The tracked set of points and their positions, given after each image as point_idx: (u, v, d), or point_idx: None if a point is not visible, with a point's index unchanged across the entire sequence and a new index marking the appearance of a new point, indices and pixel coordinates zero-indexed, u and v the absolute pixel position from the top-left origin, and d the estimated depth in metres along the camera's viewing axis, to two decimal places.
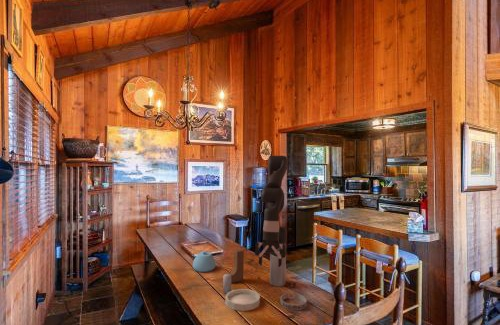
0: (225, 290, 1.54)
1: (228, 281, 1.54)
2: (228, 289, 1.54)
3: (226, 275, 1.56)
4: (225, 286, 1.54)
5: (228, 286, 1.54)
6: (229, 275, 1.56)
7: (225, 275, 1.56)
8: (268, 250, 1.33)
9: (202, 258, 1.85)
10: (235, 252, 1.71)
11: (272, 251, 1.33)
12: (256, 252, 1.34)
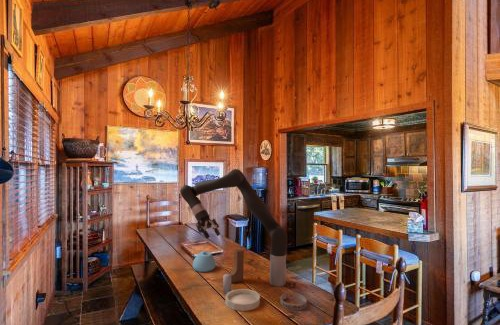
0: (225, 290, 1.54)
1: (228, 281, 1.54)
2: (228, 289, 1.54)
3: (226, 275, 1.56)
4: (225, 286, 1.54)
5: (228, 286, 1.54)
6: (229, 275, 1.56)
7: (225, 275, 1.56)
8: None
9: (202, 258, 1.85)
10: (235, 252, 1.71)
11: None
12: None
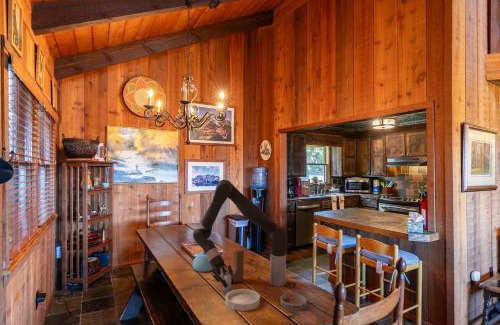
0: (225, 290, 1.54)
1: (228, 281, 1.54)
2: (228, 289, 1.54)
3: (226, 275, 1.56)
4: None
5: (228, 286, 1.54)
6: (229, 275, 1.56)
7: (225, 275, 1.56)
8: None
9: (202, 258, 1.85)
10: (235, 252, 1.71)
11: None
12: None
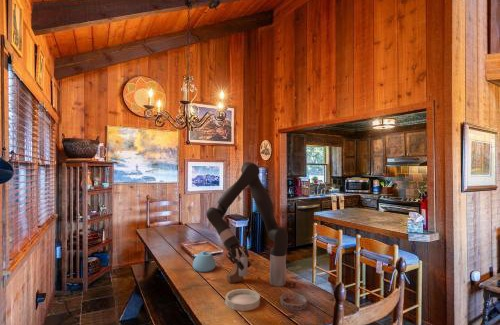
0: (241, 272, 1.43)
1: (244, 263, 1.43)
2: (244, 271, 1.43)
3: (242, 257, 1.45)
4: None
5: (244, 268, 1.43)
6: (245, 257, 1.45)
7: (241, 257, 1.45)
8: None
9: (202, 258, 1.85)
10: None
11: None
12: None
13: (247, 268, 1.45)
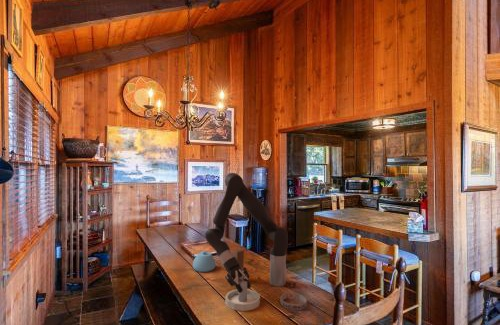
0: (241, 298, 1.43)
1: (244, 288, 1.43)
2: (244, 297, 1.43)
3: (242, 282, 1.45)
4: (241, 294, 1.43)
5: (244, 294, 1.43)
6: (245, 282, 1.45)
7: (240, 282, 1.45)
8: None
9: (202, 258, 1.85)
10: (235, 252, 1.71)
11: None
12: None
13: None
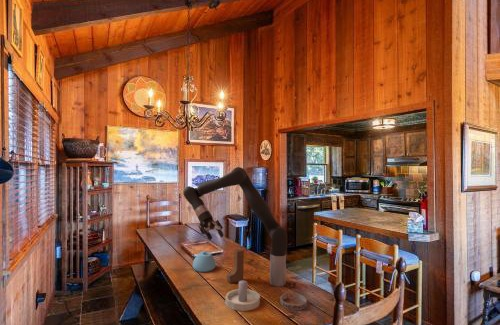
0: (241, 298, 1.43)
1: (244, 288, 1.43)
2: (244, 297, 1.43)
3: (242, 282, 1.45)
4: (241, 294, 1.43)
5: (244, 294, 1.43)
6: (245, 282, 1.45)
7: (241, 282, 1.45)
8: None
9: (202, 258, 1.85)
10: (235, 252, 1.71)
11: None
12: None
13: None
